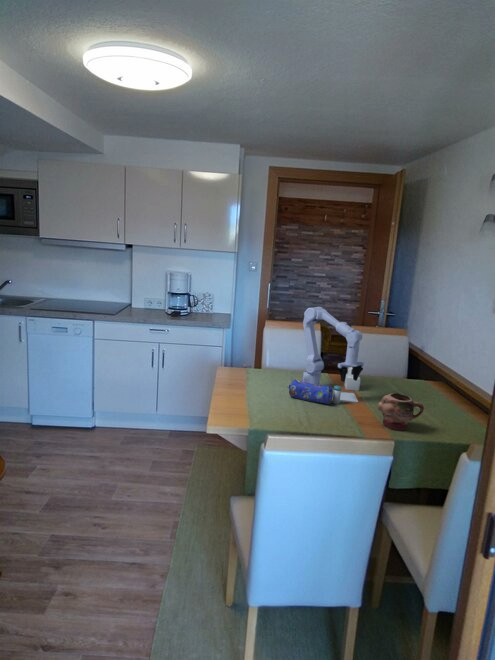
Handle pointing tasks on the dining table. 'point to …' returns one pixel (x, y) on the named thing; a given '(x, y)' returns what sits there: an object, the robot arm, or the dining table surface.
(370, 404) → the dining table surface
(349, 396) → the note pad
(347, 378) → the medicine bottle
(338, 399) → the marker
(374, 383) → the dining table surface
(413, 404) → the brown sculpted mug
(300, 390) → the pencil case
